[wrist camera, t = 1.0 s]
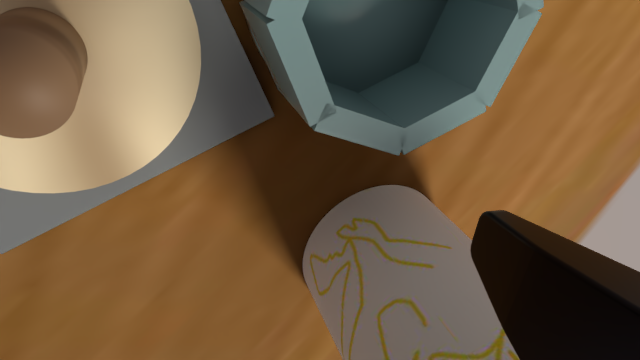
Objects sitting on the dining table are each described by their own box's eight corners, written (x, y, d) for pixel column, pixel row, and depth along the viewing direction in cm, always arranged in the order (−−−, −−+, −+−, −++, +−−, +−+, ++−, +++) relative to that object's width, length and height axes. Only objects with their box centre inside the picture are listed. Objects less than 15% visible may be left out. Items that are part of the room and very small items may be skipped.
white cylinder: (358, 161, 23) (536, 353, 13) (464, 214, 27) (659, 388, 17) (274, 289, 25) (371, 540, 15) (384, 319, 29) (518, 530, 19)
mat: (3, 248, 19) (1, 254, 18) (-335, -71, 12) (-348, -70, 12) (272, 112, 20) (274, 115, 20) (103, -248, 13) (102, -252, 13)
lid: (8, 224, 18) (-25, 304, 14) (-265, -45, 12) (-436, -29, 9) (243, 106, 19) (270, 152, 15) (90, -194, 13) (74, -237, 10)
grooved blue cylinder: (295, 135, 21) (336, 190, 17) (197, -82, 16) (222, -82, 12) (468, 47, 22) (548, 77, 17) (428, -187, 17) (527, -221, 12)
